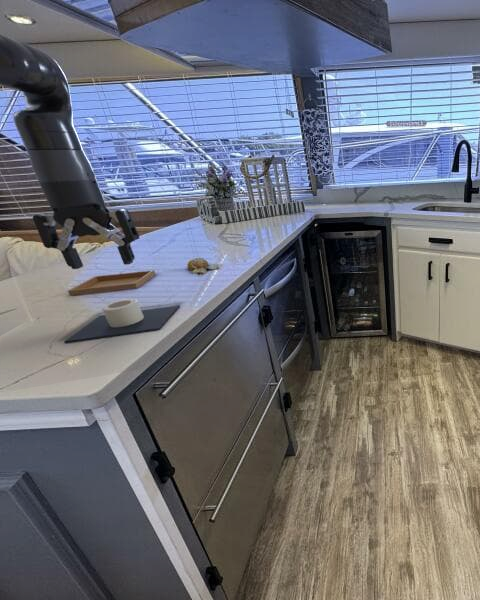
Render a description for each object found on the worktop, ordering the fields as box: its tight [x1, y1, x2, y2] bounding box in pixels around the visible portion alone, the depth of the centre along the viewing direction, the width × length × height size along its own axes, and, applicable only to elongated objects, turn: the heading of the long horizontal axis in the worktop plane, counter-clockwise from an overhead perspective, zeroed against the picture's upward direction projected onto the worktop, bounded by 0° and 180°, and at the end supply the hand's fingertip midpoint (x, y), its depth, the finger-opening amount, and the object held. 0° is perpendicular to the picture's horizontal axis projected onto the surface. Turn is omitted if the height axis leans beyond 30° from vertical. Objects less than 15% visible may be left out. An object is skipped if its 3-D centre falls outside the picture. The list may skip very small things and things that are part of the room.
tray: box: [67, 269, 156, 297], centre depth 90 cm, size 15×12×2 cm
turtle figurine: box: [187, 257, 221, 275], centre depth 101 cm, size 8×8×4 cm
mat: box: [63, 304, 181, 344], centre depth 68 cm, size 16×12×1 cm
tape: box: [101, 298, 144, 327], centre depth 67 cm, size 6×6×4 cm
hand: (104, 265), depth 63 cm, fingers open, 8 cm apart
